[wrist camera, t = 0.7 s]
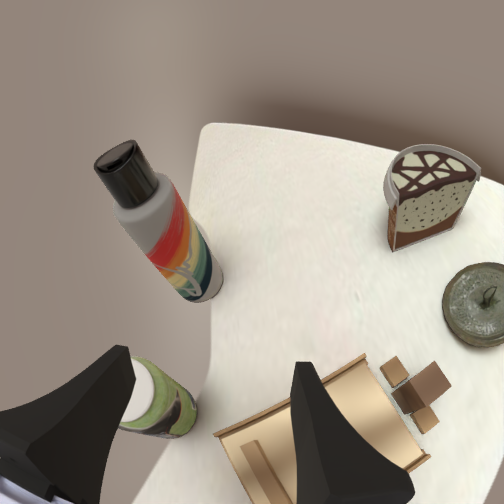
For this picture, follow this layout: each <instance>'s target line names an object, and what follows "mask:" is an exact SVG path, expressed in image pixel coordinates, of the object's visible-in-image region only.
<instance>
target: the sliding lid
mask: <svg viewBox="0 0 504 504" xmlns="http://www.w3.org/2000/svg"><path fill="white" fill-rule="evenodd" d="M325 389H326V390H327V392H328V394H329V395H330V397H331V398H332V400H333V402H334V403H335V404H336V406H337V407H338V409H339V410H340V411H341V413H342V414H343V416H344V417H345V418H346V419H347V421H348V422H349V423H350V424H351V425H352V426H353V428H354V429H355V430H356V431H357V432H358V433H359V434H360V435H361V436H362V437H363V438H364V439H365V440H366V441H367V442H368V443H369V444H370V445H372V446H373V447H374V448H375V449H376V450H377V451H378V452H379V453H381V454H382V455H383V456H385V457H386V458H387V459H389V460H390V461H391V462H393V463H394V464H396V465H398V466H399V467H401V468H404V467H405V466H407V465H408V464H410V463H411V462H412V461H414V460H415V459H417V458H418V457H419V456H421V455H422V454H423V453H422V451H421V449H420V448H419V446H418V445H417V443H416V441H415V440H414V438H413V437H412V435H411V433H410V432H409V430H408V429H407V427H406V425H405V424H404V422H403V421H402V419H401V418H400V416H399V414H398V413H397V411H396V410H395V408H394V407H393V405H392V403H391V402H390V400H389V399H388V397H387V396H386V394H385V393H384V391H383V389H382V388H381V386H380V385H379V383H378V382H377V380H376V379H375V377H374V376H373V374H372V373H371V371H370V370H369V368H368V367H367V365H366V364H365V363H364V364H362V365H360V366H359V367H357V368H356V369H354V370H353V371H351V372H350V373H348V374H346V375H345V376H343V377H341V378H340V379H338V380H337V381H335V382H333V383H332V384H330V385H328V386H326V387H325ZM221 440H222V442H223V444H224V446H225V448H226V450H227V452H228V455H229V457H230V459H231V460H232V462H233V464H234V466H235V468H236V470H237V472H238V474H239V476H240V478H241V480H242V482H243V484H244V485H245V487H246V489H247V491H248V493H249V495H250V496H251V498H252V500H253V502H254V504H296V502H297V464H296V453H295V446H294V438H293V430H292V422H291V414H290V407H289V408H287V409H285V410H283V411H281V412H279V413H277V414H275V415H273V416H271V417H269V418H267V419H265V420H263V421H261V422H259V423H257V424H254V425H252V426H250V427H248V428H246V429H244V430H241V431H239V432H237V433H235V434H232V435H230V436H228V437H225V438H223V439H221Z"/></svg>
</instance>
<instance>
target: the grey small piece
mask: <svg viewBox="0 0 504 504" xmlns="http://www.w3.org/2000/svg"><path fill="white" fill-rule="evenodd" d="M442 303H443V310H444V316H445V318H446V320H447V322H448V324H449V326H450V328H451V329H452V330H453V331H454V333H455V334H456V335H457V336H458V337H459V338H461V339H462V340H463V341H465V342H467V343H469V344H471V345H473V346H477V347H486V348H487V347H494V346H498V345H500V344H502V343H504V265H503V264H499V263H494V262H493V263H491V262H483V263H478V264H473V265H469V266H467V267H465V268H464V269H462V270H461V271H459V272H458V273H457V274H456V275H455V277H454V278H453V279H452V280H451V281H450V282H449V283H448V285H447V286H446V289H445V292H444V295H443V301H442Z"/></svg>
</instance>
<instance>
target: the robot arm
mask: <svg viewBox="0 0 504 504" xmlns="http://www.w3.org/2000/svg"><path fill="white" fill-rule="evenodd" d="M135 382H136V376H135V372H134V369H133V365H132V361H131V357H130V353H129V349H128V347H126V346H120V345H115V346H114V347H112V348H111V349H110V350H108V351H107V352H106V353H105V354H104V355H102V356H101V357H100V358H99V359H98V360H96V361H95V362H94V363H93V364H91V365H90V366H89V367H88V368H86V369H85V370H84V371H82V372H81V373H80V374H78V375H77V376H76V377H74V378H73V379H71V380H70V381H69V382H68V383H66V384H64V385H63V386H61V387H59V388H58V389H56V390H54V391H52V392H51V393H49V394H47V395H45V396H43V397H41V398H38V399H37V400H34V401H32V402H30V403H27V404H24V405H22V406H19V407H16V408H12V409H9V410H5V411H1V412H0V457H1V458H0V504H99V502H100V493H101V487H102V480H103V476H104V471H105V467H106V462H107V458H108V454H109V450H110V447H111V444H112V441H113V438H114V435H115V433H116V431H117V429H118V426H119V424H120V422H121V420H122V417H123V415H124V413H125V411H126V408H127V406H128V404H129V401H130V399H131V396H132V393H133V390H134V386H135ZM290 414H291V422H292V430H293V438H294V446H295V453H296V464H297V502H296V504H407V503H408V502H409V501H410V500H411V499H412V498H413V496H414V495H415V490H414V486H413V483H412V480H411V478H410V476H409V474H408V472H407V471H406V470H404V469H402V468H401V467H399V466H398V465H396V464H394V463H393V462H391V461H390V460H389V459H387V458H386V457H385V456H383V455H382V454H381V453H379V452H378V451H377V450H376V449H375V448H374V447H373V446H372V445H370V444H369V443H368V442H367V441H366V440H365V439H364V438H363V437H362V436H361V435H360V434H359V433H358V432H357V431H356V430H355V429H354V428H353V426H352V425H351V424H350V423H349V422H348V421H347V419H346V418H345V417H344V416H343V414H342V413H341V411H340V410H339V409H338V407H337V406H336V404H335V403H334V402H333V400H332V398H331V397H330V395H329V394H328V392H327V390H326V389H325V387H324V385H323V384H322V382H321V380H320V378H319V376H318V374H317V372H316V370H315V368H314V366H313V364H312V363H311V362H296V365H295V370H294V376H293V382H292V387H291V393H290Z"/></svg>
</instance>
